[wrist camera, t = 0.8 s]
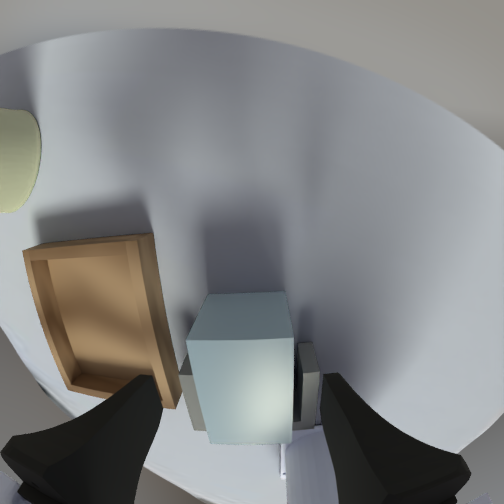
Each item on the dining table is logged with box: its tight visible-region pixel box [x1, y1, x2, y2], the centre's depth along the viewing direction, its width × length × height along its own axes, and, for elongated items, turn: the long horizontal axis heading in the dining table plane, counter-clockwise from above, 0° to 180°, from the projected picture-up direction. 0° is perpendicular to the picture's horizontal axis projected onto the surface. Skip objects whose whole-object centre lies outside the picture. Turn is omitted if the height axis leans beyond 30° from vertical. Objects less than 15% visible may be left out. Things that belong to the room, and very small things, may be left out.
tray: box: [22, 233, 182, 409], centre depth 18 cm, size 13×11×2 cm
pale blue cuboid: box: [186, 291, 294, 445], centre depth 16 cm, size 8×5×6 cm, turn 4°
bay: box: [178, 342, 320, 431], centre depth 18 cm, size 6×9×4 cm, turn 94°
